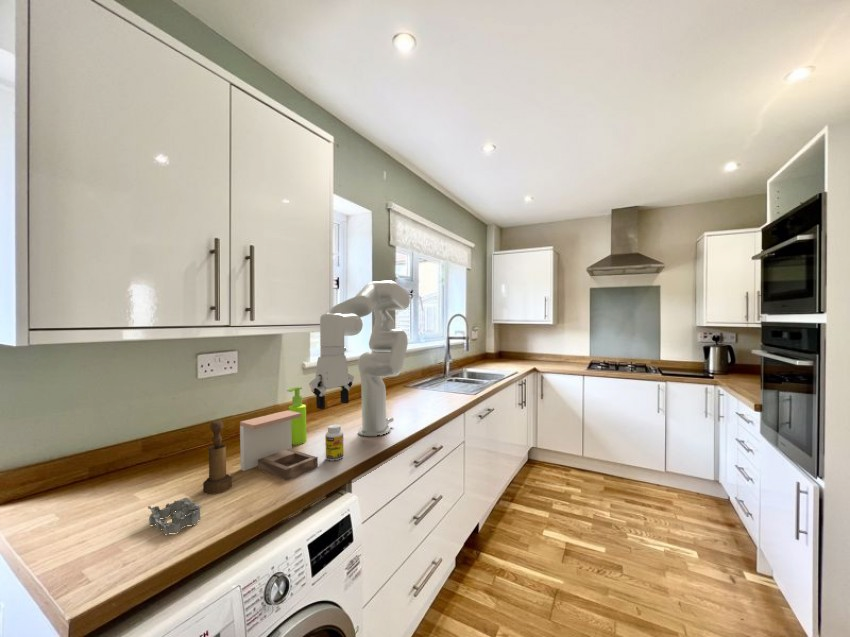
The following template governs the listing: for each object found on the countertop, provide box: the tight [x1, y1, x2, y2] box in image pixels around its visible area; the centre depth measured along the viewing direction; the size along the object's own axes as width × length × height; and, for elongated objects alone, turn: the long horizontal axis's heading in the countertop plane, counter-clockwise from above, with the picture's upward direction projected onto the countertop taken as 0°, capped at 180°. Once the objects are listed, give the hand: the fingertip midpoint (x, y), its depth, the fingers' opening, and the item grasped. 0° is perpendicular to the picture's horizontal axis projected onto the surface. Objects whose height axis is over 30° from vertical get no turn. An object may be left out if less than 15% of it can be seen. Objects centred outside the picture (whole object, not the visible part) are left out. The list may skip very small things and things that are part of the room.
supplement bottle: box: [324, 424, 345, 462], centre depth 114 cm, size 6×6×10 cm
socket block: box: [257, 449, 319, 481], centre depth 106 cm, size 11×14×3 cm
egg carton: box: [147, 497, 202, 535], centre depth 78 cm, size 11×8×4 cm
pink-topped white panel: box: [239, 409, 301, 472], centre depth 111 cm, size 16×8×14 cm, turn 145°
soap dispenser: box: [286, 386, 307, 446], centre depth 130 cm, size 6×7×20 cm
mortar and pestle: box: [202, 419, 233, 495], centre depth 94 cm, size 7×6×18 cm
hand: (333, 405), depth 113 cm, fingers open, 9 cm apart
